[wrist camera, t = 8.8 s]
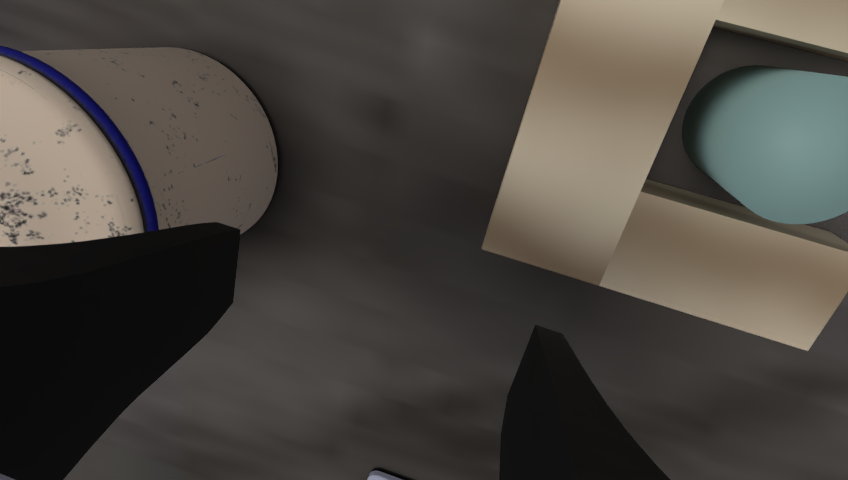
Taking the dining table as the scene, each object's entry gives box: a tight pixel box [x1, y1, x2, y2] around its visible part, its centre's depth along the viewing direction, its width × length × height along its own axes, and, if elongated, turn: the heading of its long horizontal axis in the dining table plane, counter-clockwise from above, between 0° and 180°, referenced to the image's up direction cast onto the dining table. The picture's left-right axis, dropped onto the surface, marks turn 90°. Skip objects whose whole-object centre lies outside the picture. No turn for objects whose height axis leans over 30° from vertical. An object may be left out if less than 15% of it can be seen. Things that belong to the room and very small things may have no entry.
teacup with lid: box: [0, 46, 278, 247], centre depth 19 cm, size 12×9×12 cm
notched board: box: [481, 0, 848, 351], centre depth 17 cm, size 13×12×2 cm
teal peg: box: [682, 65, 848, 224], centre depth 16 cm, size 4×4×5 cm
